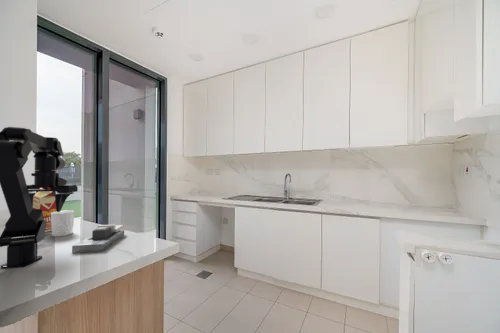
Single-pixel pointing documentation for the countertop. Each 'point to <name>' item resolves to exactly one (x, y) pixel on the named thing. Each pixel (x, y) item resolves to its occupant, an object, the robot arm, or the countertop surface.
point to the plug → (101, 233)
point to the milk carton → (45, 206)
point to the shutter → (113, 227)
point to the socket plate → (97, 243)
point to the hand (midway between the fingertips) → (44, 212)
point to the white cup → (62, 222)
